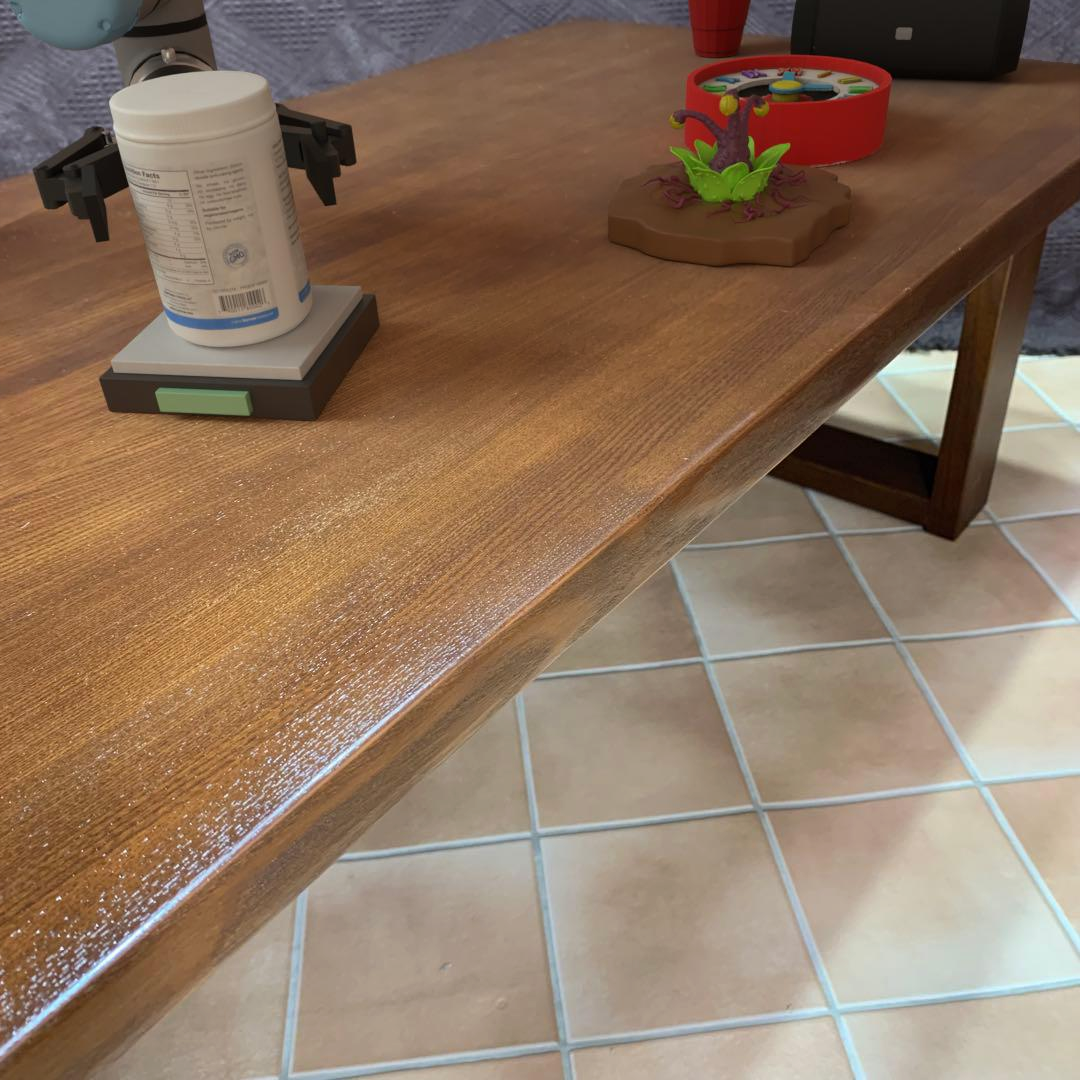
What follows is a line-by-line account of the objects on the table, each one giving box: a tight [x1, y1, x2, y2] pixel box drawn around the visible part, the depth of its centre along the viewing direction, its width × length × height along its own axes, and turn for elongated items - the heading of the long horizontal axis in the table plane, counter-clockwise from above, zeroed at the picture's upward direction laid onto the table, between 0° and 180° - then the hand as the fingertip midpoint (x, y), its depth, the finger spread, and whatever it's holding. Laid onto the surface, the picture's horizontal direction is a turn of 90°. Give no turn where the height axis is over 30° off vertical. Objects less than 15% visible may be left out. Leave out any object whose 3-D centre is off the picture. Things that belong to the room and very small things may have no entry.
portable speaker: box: [789, 0, 1031, 81], centre depth 126 cm, size 26×10×10 cm, turn 70°
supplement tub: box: [108, 70, 312, 347], centre depth 67 cm, size 10×10×15 cm
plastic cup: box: [687, 0, 752, 58], centre depth 139 cm, size 11×11×12 cm
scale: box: [98, 284, 381, 421], centre depth 72 cm, size 14×15×3 cm
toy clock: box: [684, 54, 893, 168], centre depth 109 cm, size 20×6×20 cm
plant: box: [607, 88, 852, 268], centre depth 88 cm, size 20×20×11 cm
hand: (215, 201), depth 64 cm, fingers open, 13 cm apart
